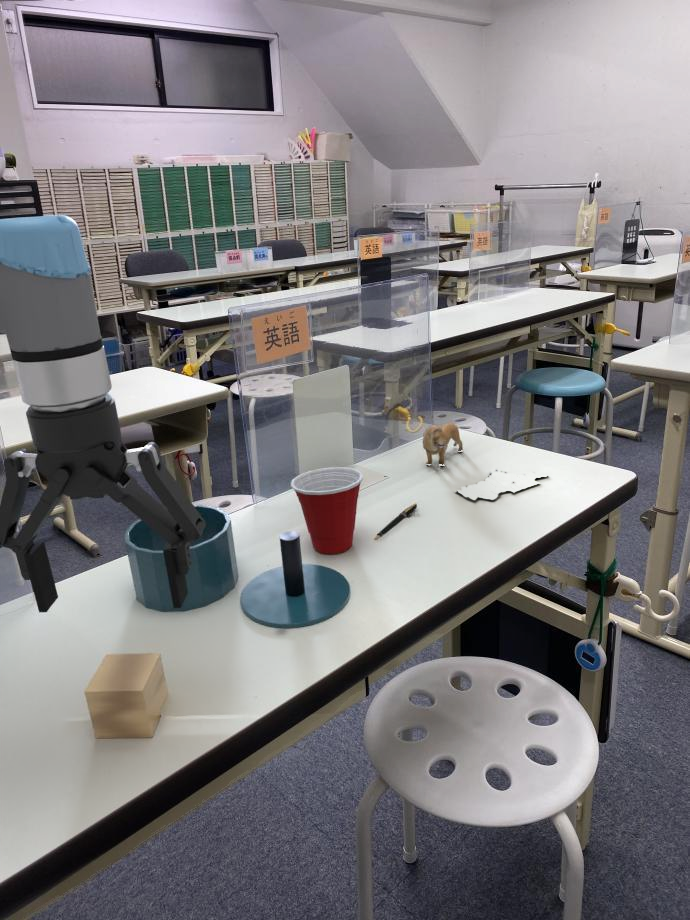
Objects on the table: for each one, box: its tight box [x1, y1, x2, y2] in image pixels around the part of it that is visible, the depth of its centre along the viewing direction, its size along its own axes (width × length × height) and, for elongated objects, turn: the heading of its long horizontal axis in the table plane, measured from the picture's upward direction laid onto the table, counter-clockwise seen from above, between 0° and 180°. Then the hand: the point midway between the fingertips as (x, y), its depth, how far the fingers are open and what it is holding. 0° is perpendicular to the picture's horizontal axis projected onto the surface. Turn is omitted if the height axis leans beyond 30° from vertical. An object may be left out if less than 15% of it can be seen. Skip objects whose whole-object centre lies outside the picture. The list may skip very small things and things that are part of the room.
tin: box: [123, 504, 239, 613], centre depth 96 cm, size 14×14×10 cm
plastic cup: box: [290, 466, 364, 556], centre depth 103 cm, size 11×11×12 cm
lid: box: [240, 530, 351, 629], centre depth 91 cm, size 15×15×10 cm
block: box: [83, 652, 169, 739], centre depth 72 cm, size 6×6×6 cm
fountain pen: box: [373, 502, 418, 540], centre depth 111 cm, size 14×1×2 cm, turn 147°
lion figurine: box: [422, 422, 464, 465], centre depth 135 cm, size 15×5×9 cm, turn 154°
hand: (114, 603), depth 69 cm, fingers open, 13 cm apart
